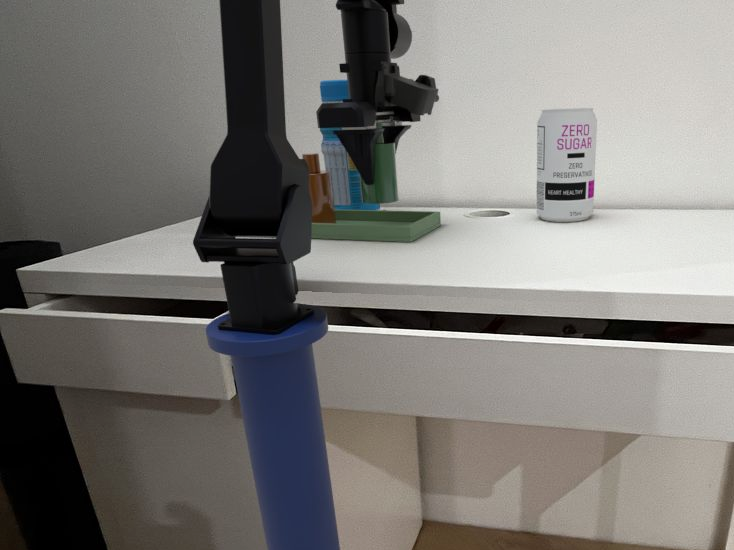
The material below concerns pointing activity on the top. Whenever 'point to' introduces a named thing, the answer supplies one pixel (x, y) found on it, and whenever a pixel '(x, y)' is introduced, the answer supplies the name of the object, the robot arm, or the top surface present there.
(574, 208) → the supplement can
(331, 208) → the amber bottle near
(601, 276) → the top surface
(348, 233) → the tray
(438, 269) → the top surface
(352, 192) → the beverage bottle
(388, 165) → the green bottle
